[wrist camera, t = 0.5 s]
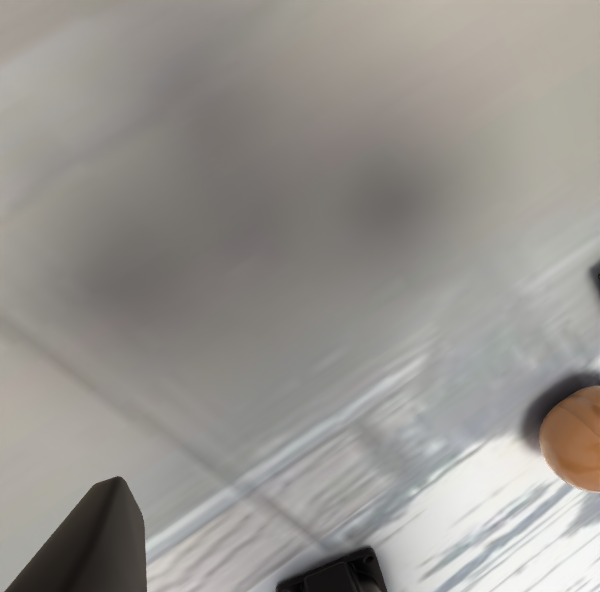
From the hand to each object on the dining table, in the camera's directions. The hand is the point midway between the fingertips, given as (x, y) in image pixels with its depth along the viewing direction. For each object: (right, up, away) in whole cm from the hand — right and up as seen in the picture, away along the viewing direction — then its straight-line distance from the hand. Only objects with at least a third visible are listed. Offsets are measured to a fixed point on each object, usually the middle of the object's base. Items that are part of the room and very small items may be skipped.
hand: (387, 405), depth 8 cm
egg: (+15, -6, +18) cm, 25 cm away
